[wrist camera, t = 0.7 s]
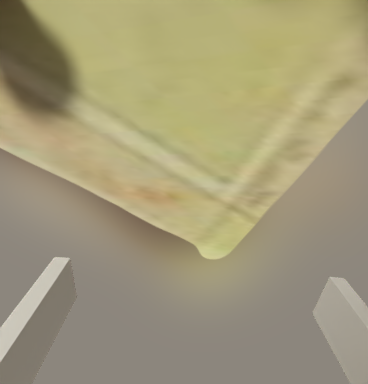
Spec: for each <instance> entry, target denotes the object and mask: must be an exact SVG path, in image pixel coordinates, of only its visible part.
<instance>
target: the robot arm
mask: <svg viewBox="0 0 368 384" xmlns="http://www.w3.org/2000/svg"><path fill="white" fill-rule="evenodd" d="M76 298H77V295H76V289H75V283H74V277H73V271H72V266H71V260H70V258H62V257H54V259H53V260H52V261H51V263H50V264H49V265H48V266H47V268H46V269H45V270H44V272H43V273H42V274H41V275H40V277H39V278H38V279H37V281H36V282H35V283H34V285H33V286H32V287H31V289H30V290H29V291H28V293H27V294H26V295H25V297H24V298H23V299H22V300H21V302H20V303H19V304H18V306H17V307H16V308H15V309H14V311H13V312H12V313H11V315H10V316H9V317H8V319H7V320H6V321H5V323H4V324H3V325H2V326H1V328H0V384H32V383H33V381H34V379H35V377H36V375H37V373H38V371H39V369H40V367H41V365H42V363H43V362H44V359H45V358H46V356H47V354H48V352H49V350H50V348H51V346H52V344H53V342H54V340H55V338H56V336H57V334H58V333H59V331H60V329H61V327H62V325H63V323H64V321H65V319H66V317H67V315H68V313H69V311H70V309H71V307H72V305H73V304H74V302H75V300H76ZM312 314H313V316H314V318H315V320H316V321H317V323H318V325H319V327H320V329H321V331H322V332H323V334H324V336H325V338H326V340H327V342H328V343H329V345H330V347H331V349H332V351H333V353H334V355H335V356H336V358H337V360H338V362H339V364H340V366H341V368H342V369H343V371H344V373H345V375H346V377H347V378H348V380H349V382H350V384H368V307H367V306H366V304H365V303H364V302H363V301H362V299H360V297H359V296H358V295H357V293H356V292H355V291H354V290H353V288H352V287H351V286H350V285H349V283H348V282H347V281H346V280H345V278H337V277H329V279H328V281H327V283H326V285H325V287H324V290H323V291H322V294H321V296H320V298H319V300H318V302H317V304H316V306H315V308H314V310H313V312H312Z"/></svg>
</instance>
